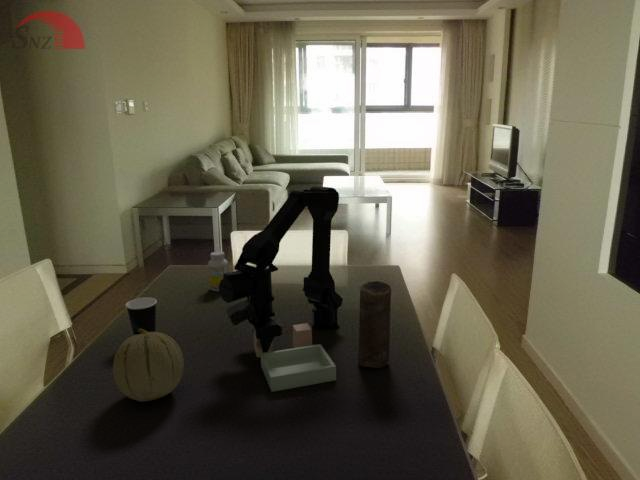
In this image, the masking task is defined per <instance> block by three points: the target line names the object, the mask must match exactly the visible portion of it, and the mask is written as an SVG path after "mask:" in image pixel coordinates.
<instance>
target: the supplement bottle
mask: <svg viewBox="0 0 640 480" xmlns="http://www.w3.org/2000/svg"><path fill="white" fill-rule="evenodd" d="M209 256H210V258H211V260H209V261H208V275H209V286H210V290H211V291H212V292H219V285H220V281H221V280H222V279H223V274H225V273H230V271H229V270H230V269H229V262H228V260H227V259H226V258H225V252H224V251H212V252H211V253H210V255H209Z"/></svg>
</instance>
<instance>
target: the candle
mask: <svg viewBox="0 0 640 480" xmlns="http://www.w3.org/2000/svg"><path fill="white" fill-rule="evenodd" d="M391 300H392V288H391V285H390V284H388V283H386V282H383V281H380V280H376V281H367V282H365V283H363V284H362V285H361V286H360V290H359V319H358V321H359V324H358V325H359V326H358V329H359V330H358V358H357V360H358V361H357V362H358V364H359V365H360V366H361V367H365V368H372V369H377V370H378V369H381V368H383V367H385V366H386V365H388V363H389V362H390V344H391V343H390V341H391V340H390V338H391V335H390V334H391V328H390V327H391V310H392V309H391V303H392V301H391Z"/></svg>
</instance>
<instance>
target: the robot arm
mask: <svg viewBox="0 0 640 480" xmlns="http://www.w3.org/2000/svg"><path fill="white" fill-rule="evenodd" d="M339 202H340V193H339V192H338V191H337V189H336V188H334V187H328V186H320V185H313V186H312V187H311V188H309V189H293V190H292V191H290V192H289V195H288V197H287V199H286V200H285V201H284V203H283V204H282V205H281V207H280V208H279V209H278V211H277V212H276V213H275V214H274V216H273V217H272V218H271V220H269V223H268V224H267V225H266V227H264V229H262V230H261V231H259V232H258V233H255V234H254V235H253V236H251V237H250V238H249V239H248V240H247V241H246V242H245V243H244V244H243V246H242V247H241V248H242V249H241V253H240V255H239V257H238V259H237V261H236V263H235V265H234V270H235V271H231V272H229V273H225V274H223V279H222V280H221V281H220V285H219V291H218V292H219V294H220V295H219V296H220V297H221V299H222V300H223V302H225V303H227V304H228V303H229V304H230V303H233V302H236V301H239V300H241V299H244V298H246V299H245V300H243V301H240V302H237V303H235V304H233V305H231V306H229V307H227V308H226V310H225V311H226V314H227V316H228V319H229V320H230V323H231V324H232V326H234V327H236V326H238V325H239V324H241V323H242V322H245V321H246V320H247V321H248V323H250V325H252V326H253V329H254V330H253V329H252V332H253V335H254V334H255V337H256V338H257V339H260V343H261V347H262V351H263V353H266V352H268V350H269V348H270V346H271V343H272V342H273V341H274V339H275V337H280V336H282V335H283V328H282V325H281V324H280V322H279V321H278V320H276V319H275V318H274V319H272V317H276V312H275V311H274V305H273V303H274V301H275V295H273V285H272V281H273V280H272V273H275V272H277V271H279V268H278V267H277V266H276V265H274V264H273V262H274V261H275V259H276V257H277V255H278V253H279V252H280V243H281V241H282V240H283V238H285V235H286V234H287V233H288V231H289V230H290V228H291V227H292V226H293V225H294V223H296V220H297V219H298V218H299V216H301V214H302V213H303V211H304V210H305V208H306V207H307V210H308V212H309V214H310V216H311V218H312V238H311V239H312V243H311V244H312V245H311V270H310V272H309V274H308V276H304V277H303V288H302V292H303V293H304V296H305V298H307V302H308V303H309V304H310V305H312V309H311V310H310V311H311V324H312V325H313V327H315V329H316V330H317V331H324V330H331V329H332V330H333V329H337V328H338V329H339V328H340V324H339V323H338V310H339V308H340V307H342V305H343V300H344V299H343V297H341V295H340V294H338V293H337V291H336V285H335V284H336V283H335V280H334V278H333V276H332V273H331V272H330V265H331V264H330V263H331V243H332V242H331V237H332V220H333V218H334V217H335V215H336V214H337V212H338V209H339ZM249 264H252V265H249ZM253 265H254V266H253Z"/></svg>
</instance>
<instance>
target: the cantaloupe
mask: <svg viewBox="0 0 640 480" xmlns="http://www.w3.org/2000/svg"><path fill="white" fill-rule="evenodd" d="M137 332H141V333H140V334H137V335H134V334H133V335H132V336H130V337H128V338H126V339H125V340H124V341H123V342H122V343H121V345H119V348H118V349H117V351H116V353H115V356H114V358H113V362H112V363H113V364H112V365H113V366H112V369H113V370H112V372H113V378H114V381H115V384H116V386H117V388H118V389H119V391H120V392H121V393H122V394H123V395H125V396H126V397H127V398H129V399H132V400H134V401H137V402H141V403H142V402H143V403H144V402H150V401H155V400H157V399H160V398H163V397H164V396H167V395H168V394H170V393H171V392H173V390H175V389H176V388H177V385H178V384H179V383H180V381H181V380H182V377H183V374H184V366H185V360H184V355H183V352H182V350H181V347H180V346H179V344H178V343H177V342H176V340H174V338H172V337H171V336H169V335H168V334H166V333H162V332H159V331H156V332H147V331H145V330H144V329H138V331H137Z"/></svg>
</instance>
